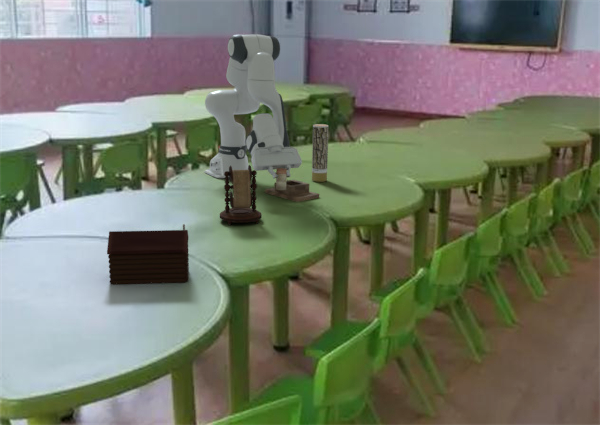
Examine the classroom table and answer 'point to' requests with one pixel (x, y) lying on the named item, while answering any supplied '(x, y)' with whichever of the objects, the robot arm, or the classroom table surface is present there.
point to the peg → (281, 178)
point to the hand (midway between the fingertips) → (282, 177)
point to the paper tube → (320, 152)
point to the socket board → (294, 191)
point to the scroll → (240, 197)
